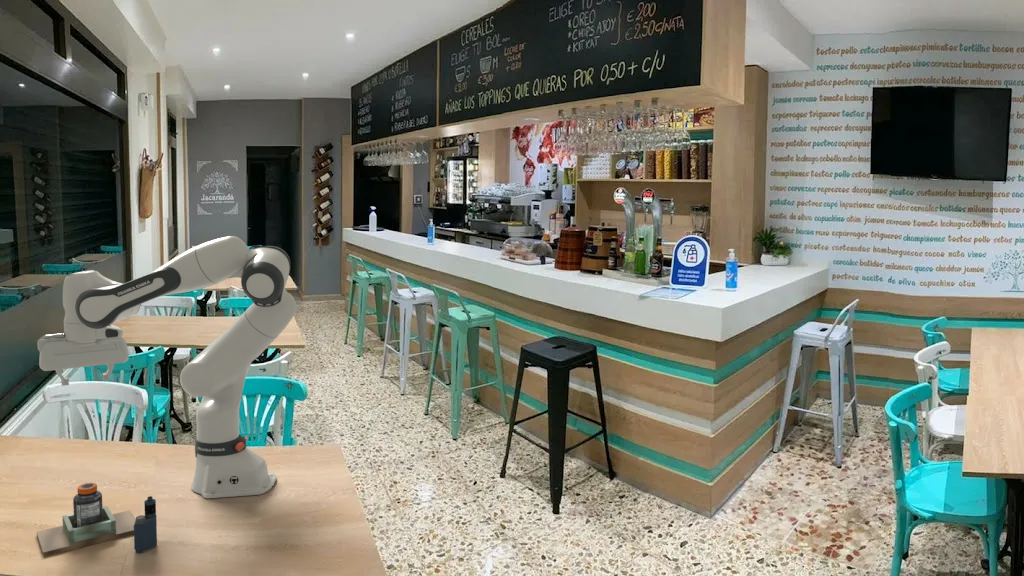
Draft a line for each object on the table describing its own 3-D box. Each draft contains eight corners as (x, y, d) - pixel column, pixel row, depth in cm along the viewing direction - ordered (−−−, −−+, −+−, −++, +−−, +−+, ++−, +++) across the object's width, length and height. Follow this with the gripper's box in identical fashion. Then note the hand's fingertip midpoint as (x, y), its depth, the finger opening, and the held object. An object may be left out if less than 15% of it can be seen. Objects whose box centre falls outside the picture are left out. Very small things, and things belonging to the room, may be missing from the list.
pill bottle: (82, 524, 171) (80, 480, 170) (108, 524, 172) (106, 480, 170) (69, 535, 165) (67, 490, 164) (95, 535, 166) (94, 490, 164)
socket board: (130, 513, 180) (129, 499, 179) (141, 532, 171) (140, 516, 170) (36, 535, 167) (35, 519, 166) (43, 556, 158) (42, 539, 157)
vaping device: (159, 544, 165) (158, 496, 163) (139, 554, 160) (138, 504, 159) (152, 542, 166) (150, 494, 165) (132, 551, 161) (130, 502, 160)
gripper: (38, 337, 175) (40, 391, 177) (129, 330, 189) (130, 380, 190) (35, 333, 180) (37, 385, 182) (124, 326, 193) (125, 374, 195)
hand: (86, 382), depth 186 cm, fingers open, 8 cm apart
